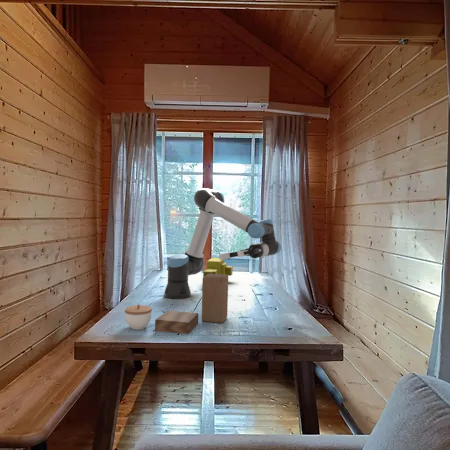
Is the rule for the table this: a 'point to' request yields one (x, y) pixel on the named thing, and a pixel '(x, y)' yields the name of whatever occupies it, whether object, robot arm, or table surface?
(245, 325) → the table surface
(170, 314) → the base brick
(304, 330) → the table surface
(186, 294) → the robot arm
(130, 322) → the lidded jar
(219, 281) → the wooden block
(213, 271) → the toy blocks
